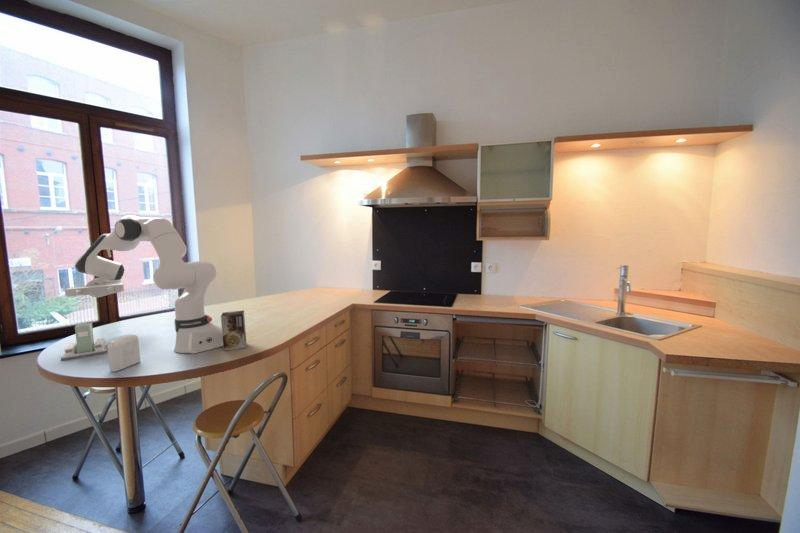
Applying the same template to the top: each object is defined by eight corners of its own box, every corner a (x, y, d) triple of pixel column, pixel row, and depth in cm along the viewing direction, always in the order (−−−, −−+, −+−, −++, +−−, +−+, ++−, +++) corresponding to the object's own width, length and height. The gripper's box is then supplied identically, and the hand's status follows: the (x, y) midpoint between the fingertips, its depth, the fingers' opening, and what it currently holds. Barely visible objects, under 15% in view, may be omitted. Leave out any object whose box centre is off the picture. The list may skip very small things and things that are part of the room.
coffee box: (246, 343, 151) (244, 310, 150) (245, 348, 146) (243, 313, 144) (225, 346, 148) (222, 312, 146) (223, 351, 142) (220, 315, 140)
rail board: (109, 345, 150) (108, 336, 149) (106, 352, 141) (105, 343, 140) (67, 352, 141) (65, 343, 141) (61, 360, 133) (59, 350, 132)
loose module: (94, 347, 145) (91, 322, 143) (92, 352, 140) (89, 325, 138) (80, 350, 142) (77, 323, 141) (78, 354, 137) (74, 327, 136)
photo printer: (133, 360, 132) (130, 331, 131) (142, 361, 132) (139, 332, 130) (107, 371, 122) (103, 340, 121) (116, 372, 121) (113, 340, 120)
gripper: (67, 284, 151) (59, 287, 140) (124, 279, 163) (121, 282, 152) (69, 297, 151) (62, 302, 140) (125, 291, 163) (123, 295, 152)
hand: (93, 291), depth 146 cm, fingers open, 8 cm apart
